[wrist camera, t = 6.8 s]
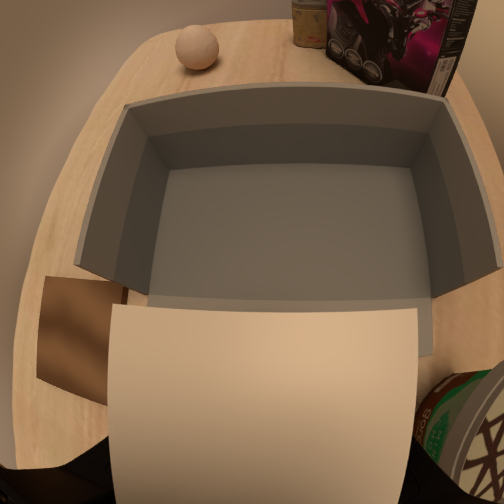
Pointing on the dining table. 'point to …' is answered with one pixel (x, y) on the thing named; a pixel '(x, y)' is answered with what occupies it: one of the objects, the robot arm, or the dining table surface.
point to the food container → (467, 430)
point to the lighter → (310, 23)
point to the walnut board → (77, 334)
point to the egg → (196, 47)
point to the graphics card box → (400, 41)
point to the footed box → (260, 405)
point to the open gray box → (290, 201)
